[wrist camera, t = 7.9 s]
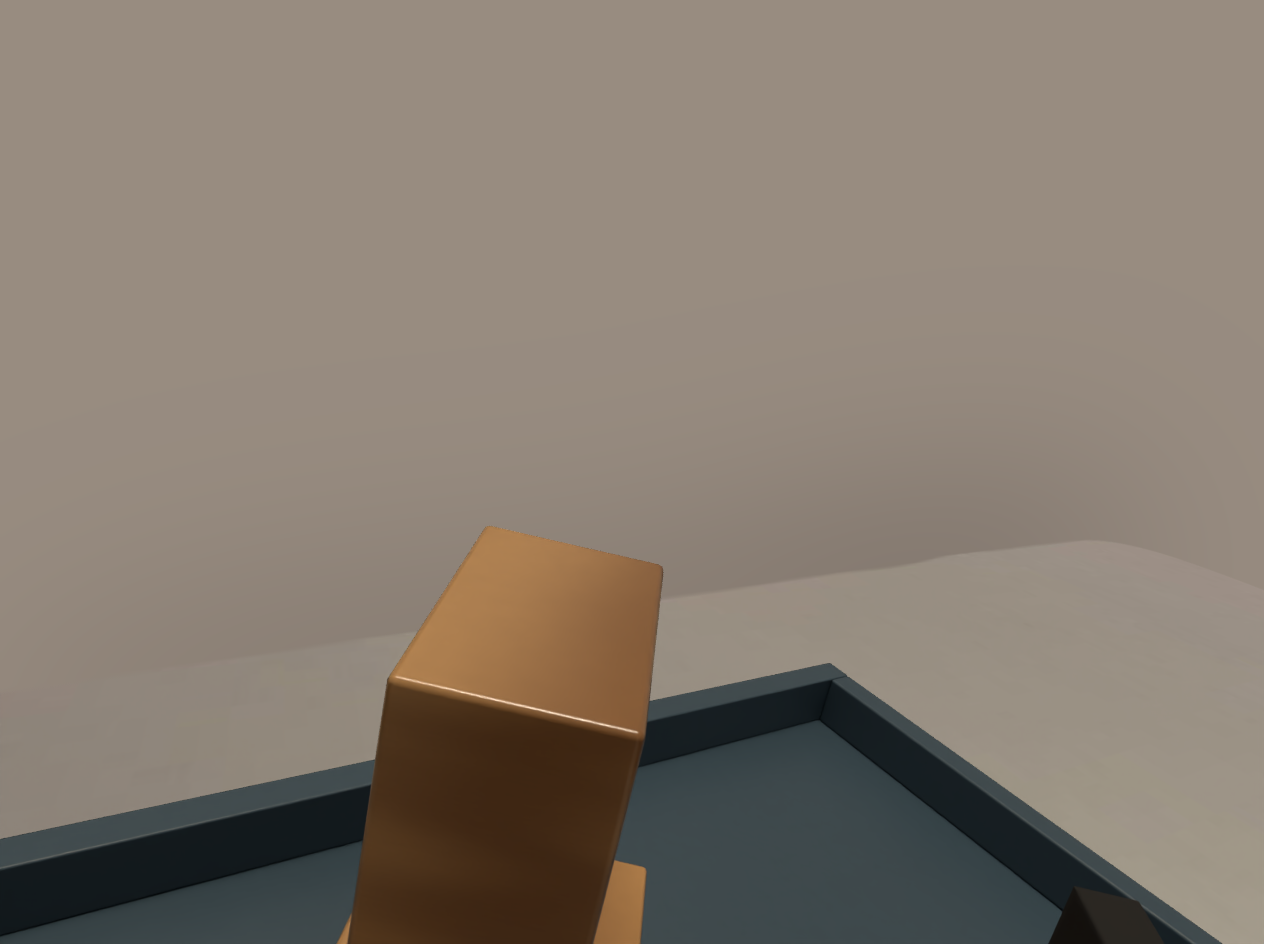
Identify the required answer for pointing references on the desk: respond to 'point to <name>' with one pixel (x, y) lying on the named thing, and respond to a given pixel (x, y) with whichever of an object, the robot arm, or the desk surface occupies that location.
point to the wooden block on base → (513, 754)
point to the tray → (623, 842)
